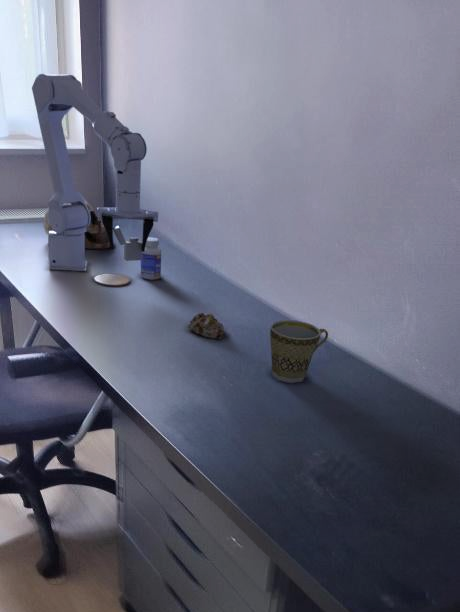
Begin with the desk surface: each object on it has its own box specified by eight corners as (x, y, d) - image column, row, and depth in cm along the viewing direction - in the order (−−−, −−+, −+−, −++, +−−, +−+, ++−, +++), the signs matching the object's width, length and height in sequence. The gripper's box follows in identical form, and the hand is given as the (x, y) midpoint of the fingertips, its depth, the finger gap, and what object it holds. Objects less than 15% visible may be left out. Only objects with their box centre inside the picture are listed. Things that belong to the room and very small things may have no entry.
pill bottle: (159, 280, 188) (160, 242, 182) (139, 278, 188) (139, 240, 182) (161, 274, 192) (162, 237, 187) (141, 272, 192) (142, 235, 186)
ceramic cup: (280, 389, 139) (287, 340, 134) (255, 369, 146) (261, 322, 141) (334, 381, 145) (343, 334, 139) (308, 362, 152) (315, 316, 146)
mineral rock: (179, 315, 161) (209, 303, 163) (182, 332, 164) (212, 320, 166) (202, 334, 154) (233, 320, 156) (205, 351, 157) (236, 338, 159)
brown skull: (119, 245, 211) (114, 197, 202) (70, 259, 201) (62, 210, 193) (88, 234, 220) (82, 188, 211) (40, 247, 210) (31, 199, 202)
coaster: (93, 285, 180) (93, 283, 180) (95, 274, 187) (95, 272, 187) (129, 287, 181) (129, 285, 181) (129, 276, 189) (129, 274, 188)
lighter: (139, 258, 180) (140, 225, 175) (141, 260, 178) (142, 227, 174) (112, 258, 177) (112, 225, 172) (114, 261, 176) (114, 227, 171)
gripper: (96, 192, 164) (97, 252, 172) (159, 197, 166) (157, 256, 174) (97, 185, 170) (98, 244, 178) (158, 190, 172) (156, 248, 180)
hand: (127, 249), depth 176 cm, fingers closed on lighter, 7 cm apart
